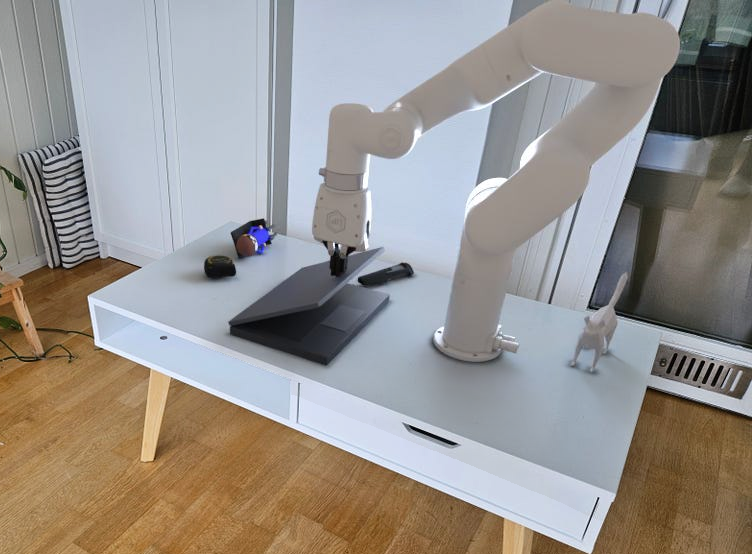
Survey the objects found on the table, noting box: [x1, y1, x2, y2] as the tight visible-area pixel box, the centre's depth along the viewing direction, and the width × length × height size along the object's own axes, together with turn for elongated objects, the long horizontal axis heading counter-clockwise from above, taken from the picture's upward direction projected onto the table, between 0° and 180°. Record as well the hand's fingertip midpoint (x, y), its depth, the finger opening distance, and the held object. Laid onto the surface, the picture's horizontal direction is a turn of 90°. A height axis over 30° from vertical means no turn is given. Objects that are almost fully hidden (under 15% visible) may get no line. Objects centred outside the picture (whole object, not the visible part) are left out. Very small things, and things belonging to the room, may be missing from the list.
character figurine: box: [230, 218, 278, 260], centre depth 156 cm, size 8×7×15 cm
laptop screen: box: [227, 246, 385, 327], centre depth 127 cm, size 21×30×1 cm
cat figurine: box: [570, 271, 629, 374], centre depth 115 cm, size 4×20×14 cm, turn 142°
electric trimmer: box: [357, 262, 415, 287], centre depth 145 cm, size 4×16×3 cm, turn 123°
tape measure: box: [203, 254, 237, 279], centre depth 145 cm, size 7×7×4 cm
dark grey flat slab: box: [229, 282, 391, 367], centre depth 130 cm, size 21×30×2 cm
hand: (337, 273), depth 122 cm, fingers closed
